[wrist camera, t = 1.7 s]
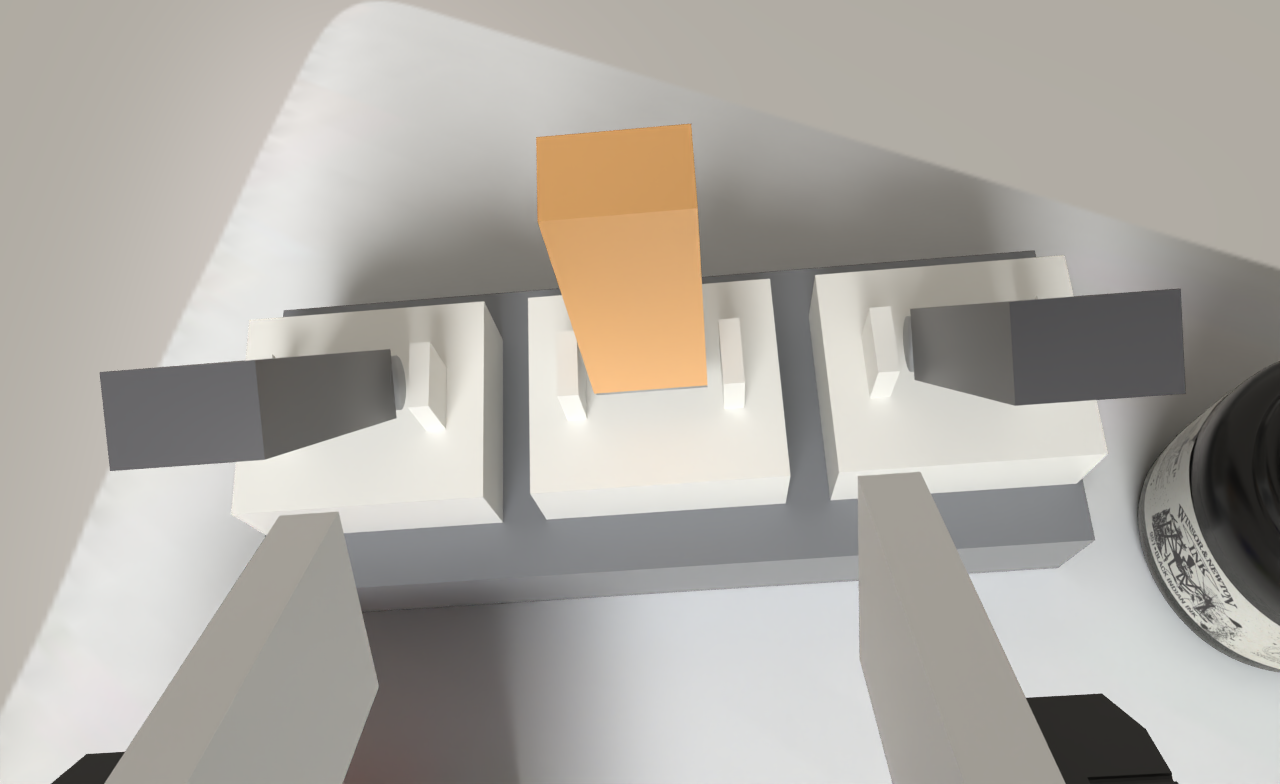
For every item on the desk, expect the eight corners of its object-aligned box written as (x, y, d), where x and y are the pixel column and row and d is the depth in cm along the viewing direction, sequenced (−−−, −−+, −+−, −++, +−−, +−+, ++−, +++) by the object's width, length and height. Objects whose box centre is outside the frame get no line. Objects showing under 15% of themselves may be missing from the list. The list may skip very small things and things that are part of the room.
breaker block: (1058, 571, 36) (1338, 367, 20) (306, 619, 38) (-33, 466, 21) (1006, 302, 40) (1203, -63, 23) (323, 355, 41) (48, 47, 25)
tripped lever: (708, 401, 31) (697, 208, 21) (599, 409, 31) (537, 221, 21) (703, 339, 32) (690, 123, 22) (597, 347, 32) (536, 137, 22)
